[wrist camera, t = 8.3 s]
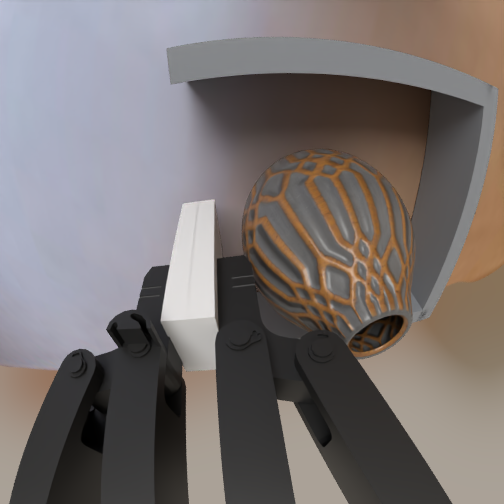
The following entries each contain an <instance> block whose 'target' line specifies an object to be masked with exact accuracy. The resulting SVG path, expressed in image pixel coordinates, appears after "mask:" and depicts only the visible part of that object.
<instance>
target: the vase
mask: <svg viewBox="0 0 504 504" xmlns="http://www.w3.org/2000/svg"><path fill="white" fill-rule="evenodd" d="M242 244H243V252H244V256H245V257H246V258H247V259H248V260H249V261H250V263H251V264H252V269H253V276H254V281H255V285H256V287H257V288H258V290H259V291H260V293H261V295H262V296H263V297H264V299H265V300H266V301H267V302H268V304H269V305H270V306H271V307H272V308H273V309H274V310H275V311H276V312H277V313H278V314H279V315H281V316H282V317H283V318H285V319H286V320H287V321H289V322H291V323H293V324H294V325H296V326H298V327H300V328H302V329H304V330H306V331H308V332H310V331H315V330H327V331H330V332H333V333H335V334H337V335H338V336H339V337H340V338H341V339H342V340H343V341H344V342H345V343H346V345H347V346H348V348H349V349H350V351H351V352H352V353H353V355H354V356H355V358H356V359H365V358H369V357H372V356H375V355H378V354H380V353H382V352H384V351H386V350H387V349H389V348H391V347H392V346H394V345H395V344H396V343H397V342H399V341H400V340H401V339H402V337H404V336H405V334H406V333H407V332H408V330H409V328H410V326H411V324H412V320H413V313H412V304H411V285H412V279H413V272H414V264H415V236H414V230H413V226H412V223H411V220H410V217H409V214H408V212H407V209H406V207H405V205H404V203H403V201H402V199H401V198H400V196H399V194H398V193H397V191H396V190H395V189H394V187H393V186H392V185H391V183H390V182H389V181H388V180H387V179H386V178H385V177H384V176H383V175H382V174H380V173H379V172H378V171H377V170H376V169H374V168H373V167H372V166H370V165H369V164H367V163H366V162H364V161H362V160H360V159H359V158H357V157H355V156H352V155H350V154H347V153H344V152H340V151H336V150H330V149H310V150H304V151H299V152H296V153H293V154H290V155H288V156H286V157H284V158H282V159H280V160H279V161H277V162H276V163H274V164H273V165H272V166H271V167H269V168H268V169H267V170H266V171H265V172H264V173H263V174H262V175H261V177H260V178H259V179H258V181H257V182H256V184H255V185H254V187H253V189H252V191H251V192H250V195H249V197H248V199H247V202H246V205H245V209H244V213H243V218H242Z"/></svg>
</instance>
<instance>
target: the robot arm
mask: <svg viewBox="0 0 504 504" xmlns="http://www.w3.org/2000/svg"><path fill="white" fill-rule="evenodd" d="M106 330H107V332H108V333H109V335H110V336H111V337H112V339H113V340H114V342H115V343H116V345H117V346H118V347H119V348H118V349H115V350H113V351H111V352H108V353H104V354H101V355H98V356H94V355H93V354H92V353H91V352H90V351H88V350H86V349H78V350H75V351H73V352H71V353H70V354H69V355H67V357H66V358H65V359H64V361H63V362H62V364H61V366H60V368H59V370H58V372H57V374H56V376H55V378H54V381H53V382H52V385H51V387H50V389H49V391H48V393H47V395H46V397H45V400H44V402H43V404H42V407H41V409H40V411H39V414H38V416H37V418H36V421H35V423H34V426H33V428H32V431H31V434H30V436H29V439H28V442H27V445H26V447H25V450H24V453H23V456H22V459H21V462H20V465H19V469H18V472H17V476H16V479H15V483H14V487H13V490H12V495H11V499H10V503H9V504H189V498H188V483H187V461H186V385H185V381H184V379H183V378H182V365H183V367H184V368H185V370H186V371H202V370H216V382H217V399H218V400H217V402H218V418H219V433H220V445H221V446H220V447H221V459H222V470H223V481H224V491H225V501H226V504H295V498H294V493H293V487H292V482H291V476H290V470H289V465H288V459H287V454H286V449H285V443H284V437H283V431H282V425H281V420H280V415H279V409H278V403H277V399H278V400H285V401H292V402H294V404H295V406H296V408H297V410H298V412H299V414H300V416H301V418H302V420H303V421H304V423H305V425H306V427H307V429H308V431H309V432H310V434H311V436H312V438H313V440H314V442H315V444H316V446H317V448H318V449H319V451H320V453H321V455H322V457H323V459H324V460H325V462H326V464H327V466H328V468H329V469H330V471H331V473H332V475H333V477H334V478H335V480H336V482H337V484H338V486H339V487H340V489H341V490H342V493H343V494H344V496H345V498H346V500H347V501H348V503H349V504H452V503H451V501H450V500H449V498H448V496H447V495H446V493H445V491H444V490H443V488H442V487H441V485H440V483H439V482H438V480H437V479H436V477H435V475H434V474H433V472H432V471H431V469H430V467H429V466H428V464H427V463H426V461H425V460H424V458H423V457H422V455H421V453H420V452H419V451H418V449H417V447H416V446H415V444H414V443H413V441H412V440H411V438H410V437H409V436H408V434H407V432H406V431H405V429H404V428H403V426H402V425H401V423H400V422H399V420H398V419H397V418H396V416H395V414H394V413H393V411H392V410H391V408H390V407H389V405H388V404H387V402H386V401H385V400H384V398H383V397H382V395H381V394H380V392H379V391H378V389H377V388H376V386H375V385H374V383H373V382H372V381H371V379H370V378H369V376H368V375H367V373H366V372H365V370H364V369H363V368H362V366H361V365H360V363H359V362H358V360H357V359H356V358H355V356H354V355H353V353H352V352H351V351H350V349H349V348H348V346H347V345H346V343H345V342H344V341H343V340H342V339H341V338H340V337H339V336H338V335H337V334H335V333H333V332H330V331H327V330H315V331H310V332H308V333H307V334H305V335H303V336H302V337H301V338H300V339H296V338H288V337H282V336H278V335H276V334H274V333H272V332H270V331H269V330H268V329H267V328H266V327H265V326H264V324H263V323H262V320H261V316H260V310H259V304H258V298H257V293H256V287H255V281H254V276H253V269H252V264H251V263H250V261H249V260H248V259H247V258H246V257H245V256H244V255H243V256H234V257H226V258H223V257H222V245H221V238H220V232H219V226H218V219H217V212H216V206H215V199H213V200H205V201H198V202H190V203H183V205H182V210H181V214H180V218H179V223H178V227H177V232H176V237H175V242H174V246H173V251H172V256H171V262H170V265H165V266H157V267H152V268H151V269H150V271H149V272H148V273H147V274H146V276H145V277H144V281H143V285H142V290H141V293H140V298H139V301H138V305H137V309H136V310H129V311H124V312H122V313H120V314H119V315H117V316H115V317H114V318H113V319H112V320H111V321H110V323H109V325H108V327H107V329H106Z"/></svg>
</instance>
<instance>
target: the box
mask: <svg viewBox="0 0 504 504" xmlns="http://www.w3.org/2000/svg"><path fill="white" fill-rule="evenodd" d="M167 57H168V66H169V74H170V82H171V84H177V83H182V82H188V81H194V80H201V79H208V78H216V77H224V76H235V75H247V74H265V73H316V74H333V75H346V76H356V77H364V78H372V79H379V80H385V81H391V82H397V83H402V84H407V85H412V86H416V87H421V88H425V89H429V90H432V91H431V107H430V119H429V128H428V137H427V144H426V151H425V158H424V164H423V169H422V175H421V180H420V185H419V190H418V195H417V199H416V204H415V208H414V212H413V216H412V220H411V223H412V226H413V230H414V236H415V264H414V272H413V279H412V285H411V304H412V313H413V320H412V323H413V322H417V321H420V320H423V319H426V318H429V317H430V315H431V313H432V311H433V309H434V308H435V306H436V304H437V302H438V300H439V298H440V296H441V294H442V292H443V290H444V288H445V286H446V284H447V282H448V280H449V278H450V276H451V273H452V271H453V269H454V267H455V264H456V262H457V260H458V257H459V255H460V253H461V250H462V248H463V245H464V243H465V240H466V237H467V235H468V232H469V229H470V226H471V223H472V220H473V217H474V214H475V211H476V208H477V205H478V202H479V198H480V195H481V191H482V187H483V184H484V180H485V176H486V171H487V167H488V162H489V158H490V153H491V147H492V141H493V135H494V128H495V121H496V112H497V101H498V88H496V87H494V86H492V85H490V84H488V83H486V82H484V81H481V80H479V79H477V78H475V77H472V76H470V75H468V74H465V73H463V72H460V71H458V70H455V69H453V68H450V67H447V66H445V65H442V64H439V63H436V62H433V61H430V60H427V59H423V58H420V57H417V56H413V55H410V54H406V53H402V52H398V51H394V50H389V49H385V48H380V47H375V46H370V45H364V44H358V43H352V42H345V41H337V40H327V39H316V38H299V37H253V38H236V39H225V40H215V41H207V42H200V43H193V44H187V45H181V46H176V47H171V48H167ZM256 293H257V298H258V304H259V310H260V316H261V320H262V323H263V324H264V326H265V327H266V328H267V329H268V330H269V331H270V332H272V333H274V334H276V335H278V336H282V337H288V338H296V339H300V338H301V337H302V336H303V335H305V334H307V333H308V331H306V330H304V329H302V328H300V327H298V326H296V325H294V324H293V323H291V322H289V321H287V320H286V319H285V318H283V317H282V316H281V315H279V314H278V313H277V312H276V311H275V310H274V309H273V308H272V307H271V306H270V305H269V304H268V302H267V301H266V300H265V299H264V297H263V296H262V295H261V293H260V292H256Z"/></svg>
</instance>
